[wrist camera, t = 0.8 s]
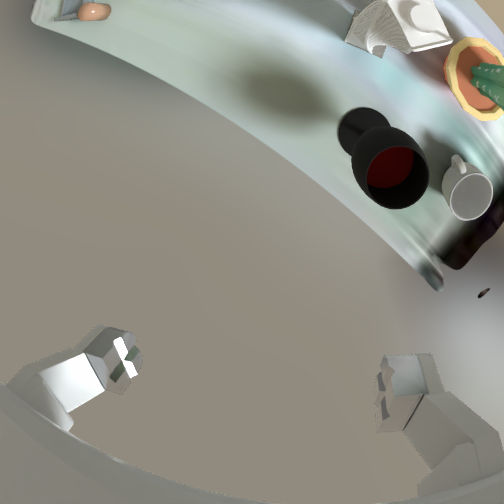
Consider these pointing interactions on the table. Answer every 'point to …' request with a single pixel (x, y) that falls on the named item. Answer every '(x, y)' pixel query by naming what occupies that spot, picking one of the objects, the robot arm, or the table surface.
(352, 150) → the wine glass
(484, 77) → the potted cactus
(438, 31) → the skyscraper
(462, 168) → the teacup
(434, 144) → the table surface
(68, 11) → the tray
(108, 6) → the peach cylinder
